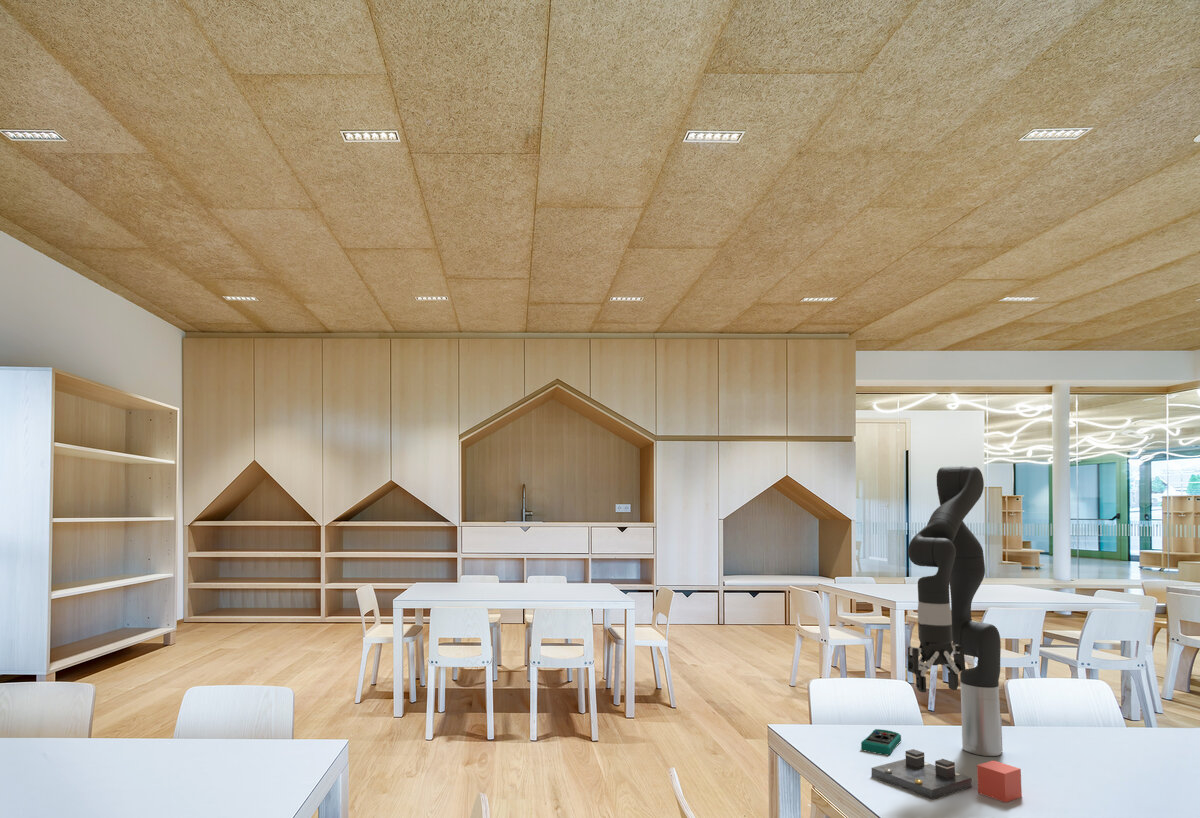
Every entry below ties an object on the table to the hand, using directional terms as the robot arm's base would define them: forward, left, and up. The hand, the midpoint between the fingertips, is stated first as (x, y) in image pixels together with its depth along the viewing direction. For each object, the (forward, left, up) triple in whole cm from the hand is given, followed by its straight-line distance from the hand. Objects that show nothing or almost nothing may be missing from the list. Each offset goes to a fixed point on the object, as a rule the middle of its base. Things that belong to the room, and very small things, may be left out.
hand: (937, 690), depth 184 cm
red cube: (-3, +13, -20) cm, 24 cm away
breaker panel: (+5, -1, -20) cm, 21 cm away
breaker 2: (+2, +3, -18) cm, 19 cm away
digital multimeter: (-9, -23, -21) cm, 33 cm away
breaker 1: (+2, -6, -18) cm, 19 cm away
